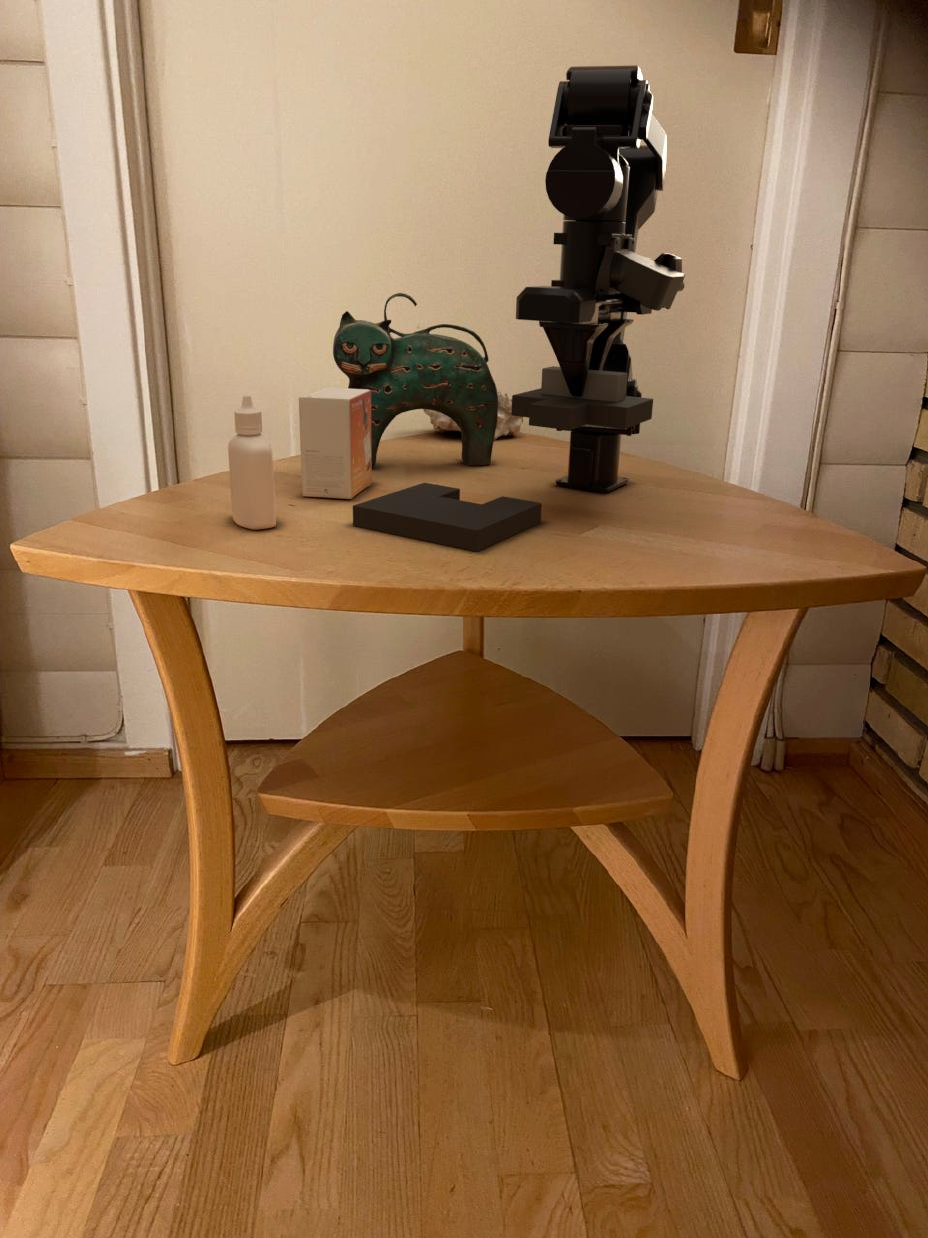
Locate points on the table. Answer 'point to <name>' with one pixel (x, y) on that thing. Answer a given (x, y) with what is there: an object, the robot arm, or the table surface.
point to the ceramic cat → (420, 379)
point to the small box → (335, 442)
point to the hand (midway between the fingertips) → (582, 394)
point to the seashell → (504, 421)
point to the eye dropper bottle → (251, 471)
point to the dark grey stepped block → (582, 402)
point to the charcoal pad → (446, 516)
